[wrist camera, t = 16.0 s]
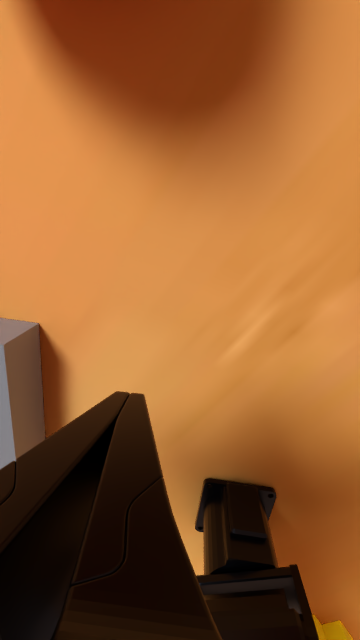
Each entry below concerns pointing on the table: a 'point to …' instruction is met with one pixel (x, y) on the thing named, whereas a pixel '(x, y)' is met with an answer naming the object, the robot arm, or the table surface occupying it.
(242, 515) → the robot arm
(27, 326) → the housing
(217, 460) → the table surface
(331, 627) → the yellow crystal cluster
